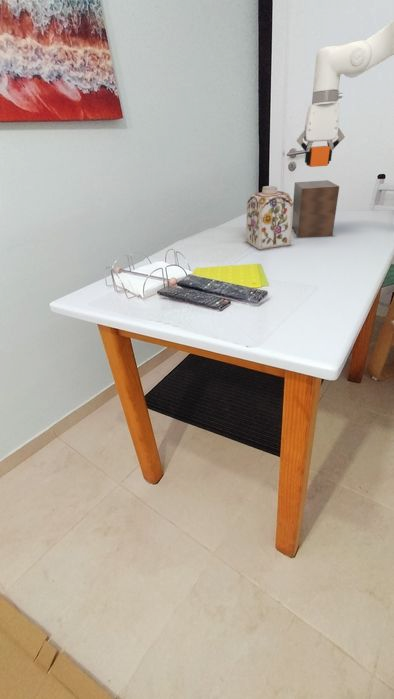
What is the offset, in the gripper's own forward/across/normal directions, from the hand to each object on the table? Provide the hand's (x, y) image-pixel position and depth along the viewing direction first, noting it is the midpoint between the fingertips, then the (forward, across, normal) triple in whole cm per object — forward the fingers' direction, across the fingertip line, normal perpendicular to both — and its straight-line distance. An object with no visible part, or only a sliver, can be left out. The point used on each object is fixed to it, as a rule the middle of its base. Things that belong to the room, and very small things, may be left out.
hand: (317, 163), depth 115 cm
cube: (+1, 0, 0) cm, 1 cm away
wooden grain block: (+22, 0, 0) cm, 22 cm away
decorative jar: (+23, +17, +15) cm, 32 cm away
